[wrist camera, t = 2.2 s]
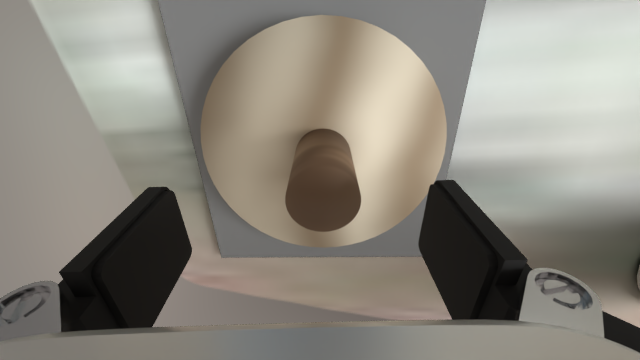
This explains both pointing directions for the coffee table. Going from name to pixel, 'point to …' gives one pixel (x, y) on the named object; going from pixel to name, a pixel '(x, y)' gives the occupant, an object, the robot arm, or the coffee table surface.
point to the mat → (289, 3)
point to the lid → (323, 131)
